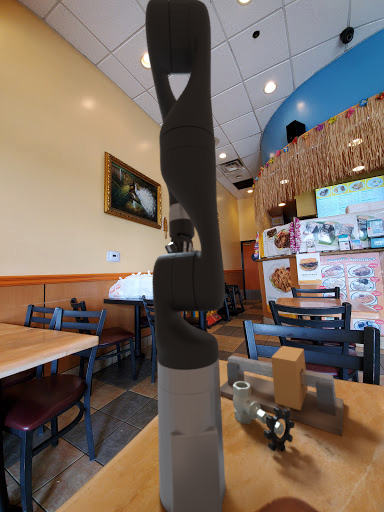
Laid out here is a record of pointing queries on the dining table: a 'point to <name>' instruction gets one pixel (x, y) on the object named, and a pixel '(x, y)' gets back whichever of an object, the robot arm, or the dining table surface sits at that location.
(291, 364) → the collar
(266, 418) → the valve
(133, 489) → the dining table surface
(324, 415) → the board
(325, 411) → the rectangular bar
